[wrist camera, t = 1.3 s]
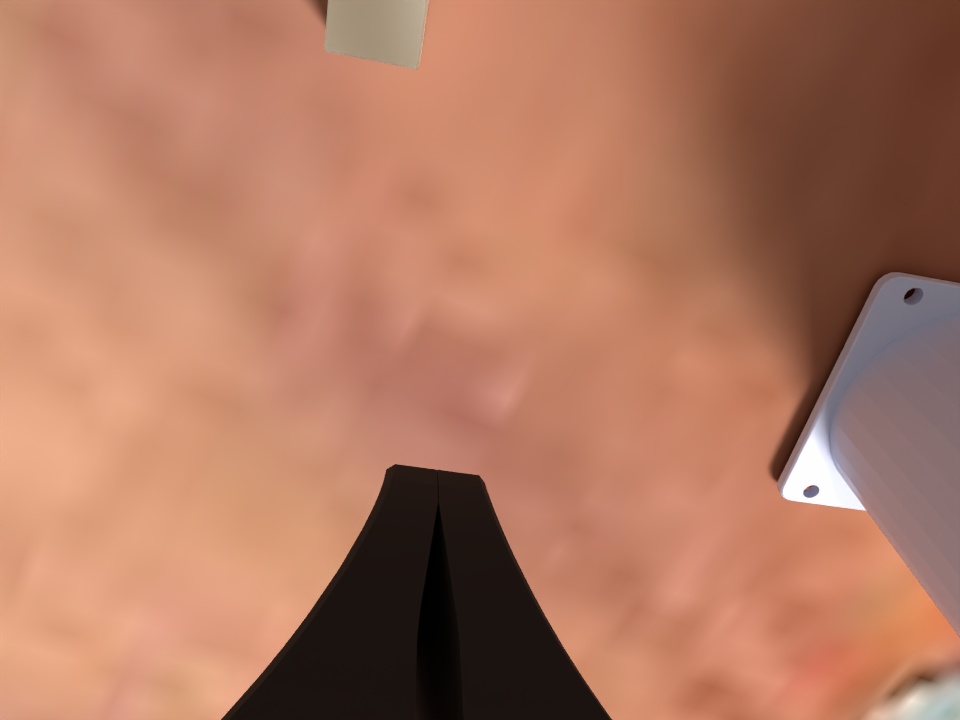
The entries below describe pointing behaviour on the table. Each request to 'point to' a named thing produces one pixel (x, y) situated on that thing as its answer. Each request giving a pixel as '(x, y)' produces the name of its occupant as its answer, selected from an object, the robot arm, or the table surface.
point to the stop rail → (377, 30)
